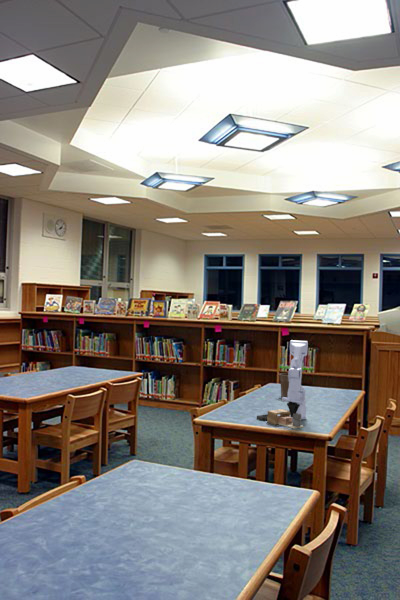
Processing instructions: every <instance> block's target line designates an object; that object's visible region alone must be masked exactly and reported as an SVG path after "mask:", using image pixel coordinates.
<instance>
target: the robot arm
mask: <svg viewBox="0 0 400 600" xmlns="http://www.w3.org/2000/svg"><path fill="white" fill-rule="evenodd" d="M308 345H309V343H308V340H296V339H295V340H293V339H291V340H290V341H289V353H290V355H291V356H293V358H292V359H291V361H290V366H289V369H288V372H287V373H288V377H289V388H288V396H287V397H281V401H282V402H287V403H286V405H287V408H288V411H290V417H292V420H293V414H294V413H298V414H301V420H306V419H308V417H307V405H306V403H307V402H306V393H307V392H306V388H305V387H303V385H302V378H301V375H302V376H303V374H302V373H303V372H302V371H303V360H304V357H306V356H308V349H309V346H308Z"/></svg>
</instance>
